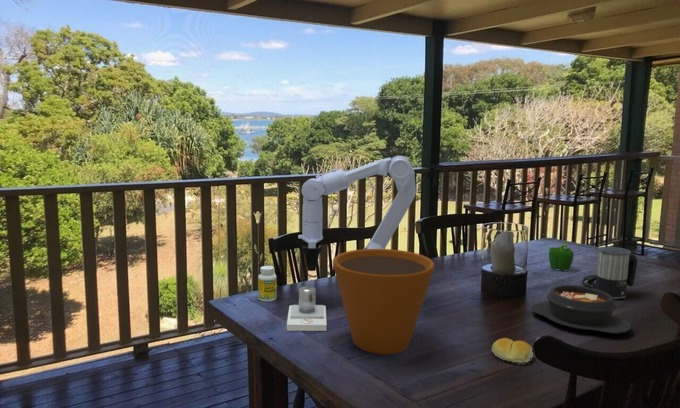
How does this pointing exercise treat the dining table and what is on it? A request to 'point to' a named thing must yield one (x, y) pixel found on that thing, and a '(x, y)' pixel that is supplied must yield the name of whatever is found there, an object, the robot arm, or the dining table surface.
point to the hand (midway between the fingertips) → (311, 266)
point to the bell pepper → (561, 257)
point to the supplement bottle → (267, 284)
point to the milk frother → (613, 271)
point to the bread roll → (512, 350)
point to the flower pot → (382, 296)
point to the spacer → (307, 299)
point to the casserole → (582, 309)
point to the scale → (306, 319)
